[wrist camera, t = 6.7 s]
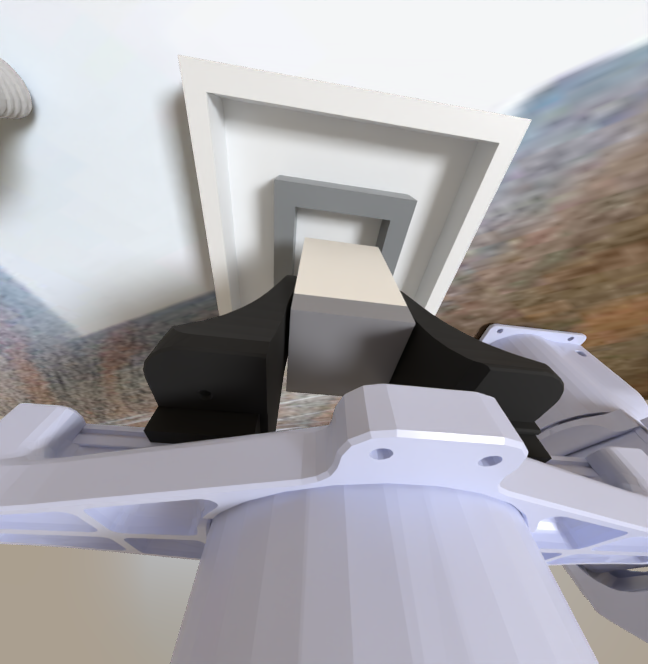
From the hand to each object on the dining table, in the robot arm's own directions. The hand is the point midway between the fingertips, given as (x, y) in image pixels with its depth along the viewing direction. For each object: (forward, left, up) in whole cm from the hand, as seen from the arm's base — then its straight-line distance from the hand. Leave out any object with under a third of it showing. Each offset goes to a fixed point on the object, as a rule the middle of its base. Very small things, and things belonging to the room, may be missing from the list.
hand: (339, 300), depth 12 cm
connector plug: (0, 0, -3) cm, 3 cm away
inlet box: (0, 0, -8) cm, 8 cm away
